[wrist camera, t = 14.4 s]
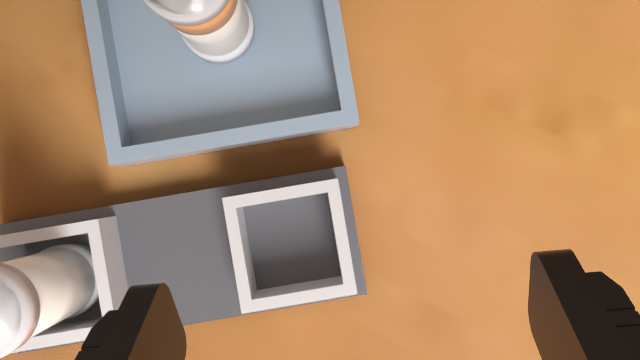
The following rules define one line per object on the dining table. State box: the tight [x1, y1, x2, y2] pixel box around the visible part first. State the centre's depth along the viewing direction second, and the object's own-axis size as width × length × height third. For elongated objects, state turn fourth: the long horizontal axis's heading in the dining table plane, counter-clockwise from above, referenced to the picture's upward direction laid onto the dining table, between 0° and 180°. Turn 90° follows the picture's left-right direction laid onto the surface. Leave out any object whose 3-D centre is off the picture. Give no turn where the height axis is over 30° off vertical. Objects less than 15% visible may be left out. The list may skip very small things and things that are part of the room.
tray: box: [81, 0, 359, 167], centre depth 30 cm, size 13×13×2 cm
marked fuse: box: [144, 0, 255, 64], centre depth 26 cm, size 4×4×8 cm
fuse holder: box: [0, 166, 367, 353], centre depth 30 cm, size 19×7×4 cm, turn 100°
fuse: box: [0, 243, 99, 358], centre depth 26 cm, size 4×4×8 cm
